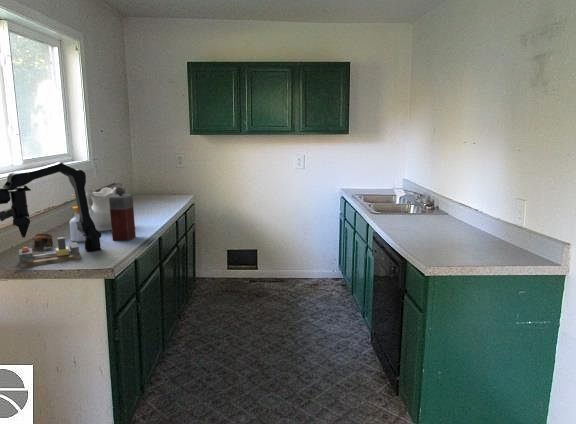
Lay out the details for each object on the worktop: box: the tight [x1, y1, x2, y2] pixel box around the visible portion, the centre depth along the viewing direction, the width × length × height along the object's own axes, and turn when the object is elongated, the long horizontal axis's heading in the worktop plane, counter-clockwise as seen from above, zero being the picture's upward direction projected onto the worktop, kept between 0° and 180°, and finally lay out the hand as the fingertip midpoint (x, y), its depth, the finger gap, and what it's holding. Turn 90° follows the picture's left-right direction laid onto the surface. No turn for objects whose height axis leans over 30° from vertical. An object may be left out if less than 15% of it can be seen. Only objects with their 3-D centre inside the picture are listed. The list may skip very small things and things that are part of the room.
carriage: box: [55, 236, 70, 256], centre depth 205 cm, size 5×5×8 cm
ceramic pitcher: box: [85, 187, 118, 232], centre depth 261 cm, size 22×20×25 cm
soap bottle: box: [68, 193, 85, 243], centre depth 237 cm, size 9×9×25 cm
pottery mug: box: [31, 233, 54, 251], centre depth 224 cm, size 12×10×8 cm
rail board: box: [18, 241, 82, 268], centre depth 203 cm, size 24×11×6 cm, turn 121°
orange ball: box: [21, 246, 29, 252], centre depth 198 cm, size 2×2×2 cm
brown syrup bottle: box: [109, 186, 137, 242], centre depth 239 cm, size 9×11×28 cm
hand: (23, 237), depth 197 cm, fingers closed
